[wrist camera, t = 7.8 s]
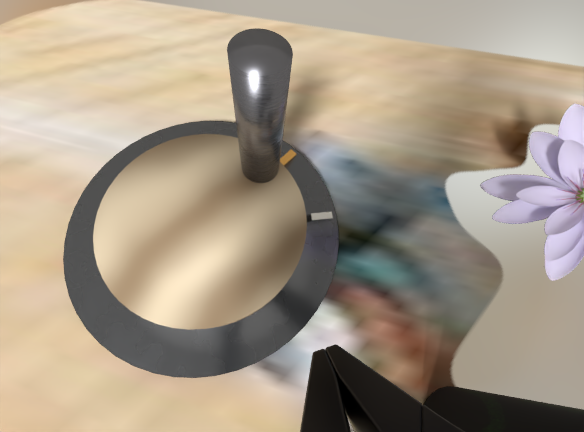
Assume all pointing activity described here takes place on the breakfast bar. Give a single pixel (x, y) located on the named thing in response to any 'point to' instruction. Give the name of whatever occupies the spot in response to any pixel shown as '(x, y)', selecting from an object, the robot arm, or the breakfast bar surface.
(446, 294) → the breakfast bar surface
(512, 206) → the water lily
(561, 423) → the cup
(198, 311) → the dial
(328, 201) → the base
